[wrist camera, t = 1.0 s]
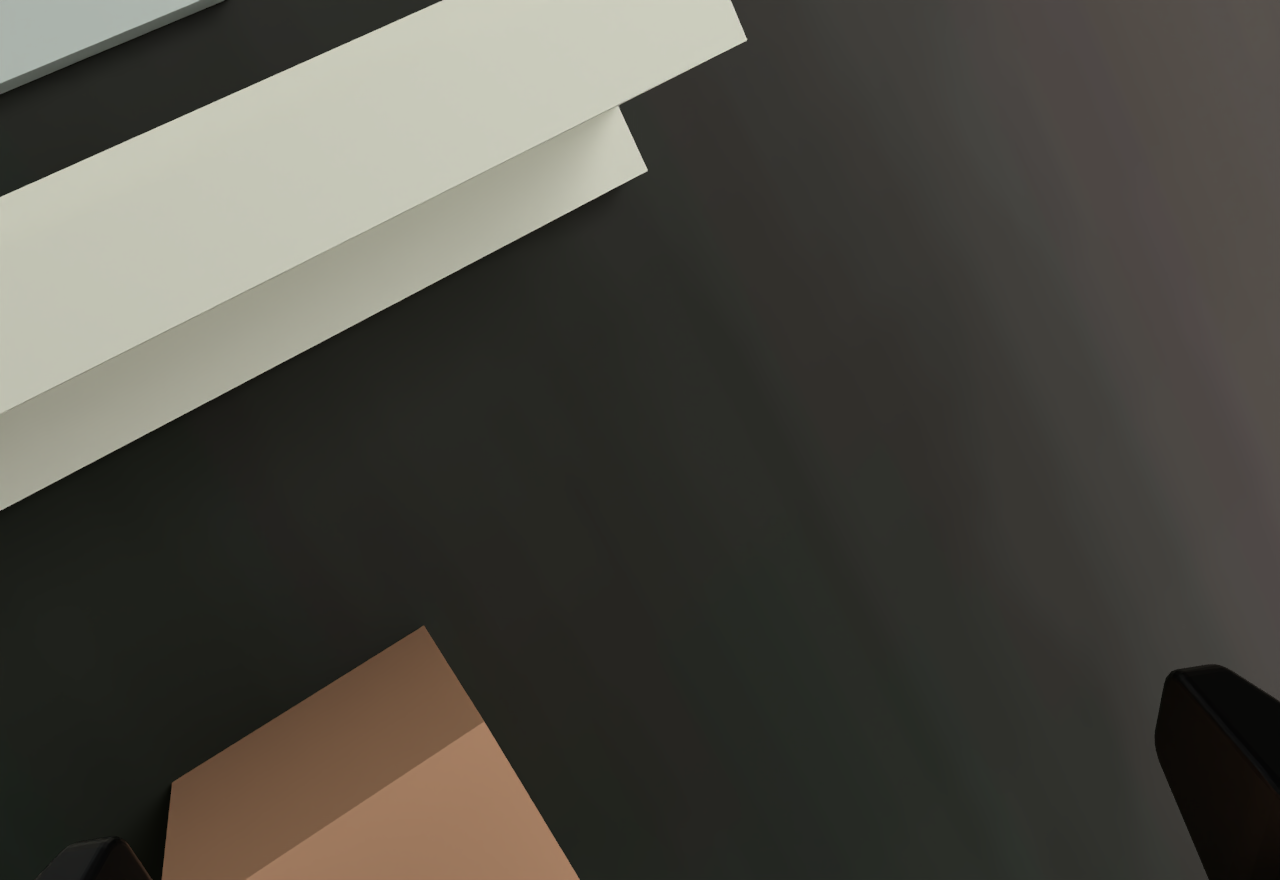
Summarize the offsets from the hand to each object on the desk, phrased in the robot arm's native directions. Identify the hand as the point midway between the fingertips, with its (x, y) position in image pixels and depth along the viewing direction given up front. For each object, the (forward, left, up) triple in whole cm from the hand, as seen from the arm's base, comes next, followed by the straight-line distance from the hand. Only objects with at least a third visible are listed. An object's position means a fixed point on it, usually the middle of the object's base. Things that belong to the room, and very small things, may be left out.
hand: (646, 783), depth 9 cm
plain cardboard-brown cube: (-5, -1, -11) cm, 13 cm away
